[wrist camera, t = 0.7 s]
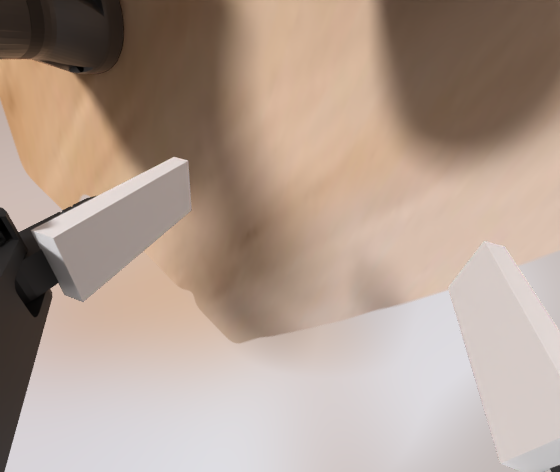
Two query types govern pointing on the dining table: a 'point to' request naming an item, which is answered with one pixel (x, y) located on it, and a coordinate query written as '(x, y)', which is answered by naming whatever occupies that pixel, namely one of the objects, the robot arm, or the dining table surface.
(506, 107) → the dining table surface
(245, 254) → the dining table surface
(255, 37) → the dining table surface
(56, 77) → the dining table surface
